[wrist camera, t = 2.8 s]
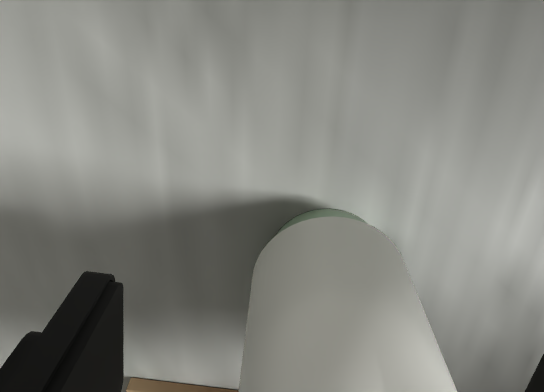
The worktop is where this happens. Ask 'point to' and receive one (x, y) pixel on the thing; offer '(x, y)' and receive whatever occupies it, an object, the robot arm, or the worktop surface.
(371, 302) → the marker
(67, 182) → the worktop surface
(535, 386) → the robot arm
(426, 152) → the worktop surface
